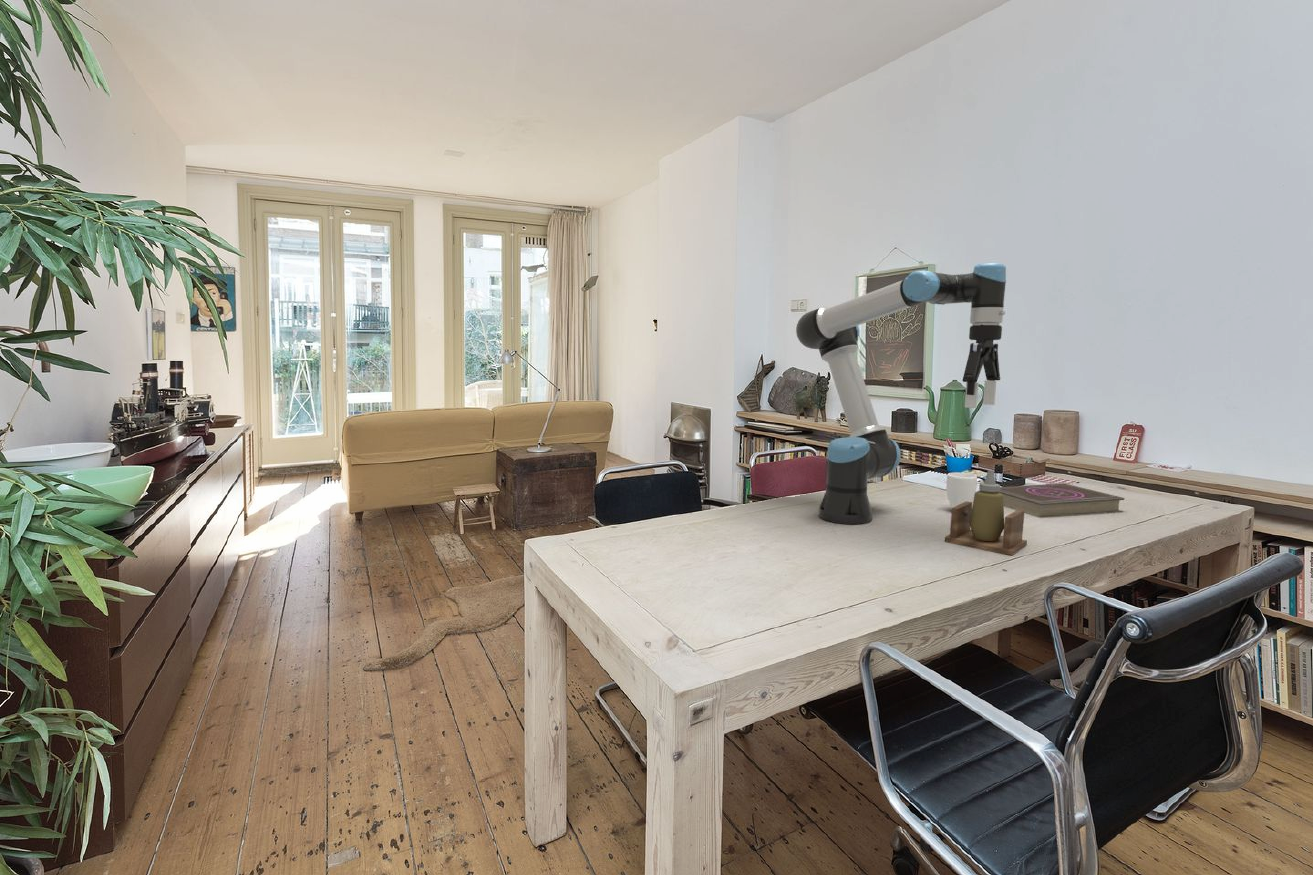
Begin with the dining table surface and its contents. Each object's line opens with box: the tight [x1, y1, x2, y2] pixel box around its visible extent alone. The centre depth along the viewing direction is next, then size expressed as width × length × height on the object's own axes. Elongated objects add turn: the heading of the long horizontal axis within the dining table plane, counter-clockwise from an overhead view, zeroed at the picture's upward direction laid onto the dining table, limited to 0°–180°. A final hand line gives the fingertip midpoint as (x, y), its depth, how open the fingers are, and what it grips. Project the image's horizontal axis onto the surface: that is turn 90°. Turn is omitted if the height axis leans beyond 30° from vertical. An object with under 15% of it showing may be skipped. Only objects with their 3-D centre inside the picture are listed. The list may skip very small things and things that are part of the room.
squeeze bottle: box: [969, 469, 1005, 541], centre depth 163 cm, size 8×8×18 cm
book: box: [999, 482, 1125, 519], centre depth 203 cm, size 30×22×5 cm
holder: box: [944, 501, 1028, 556], centre depth 164 cm, size 16×12×9 cm
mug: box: [946, 472, 985, 510], centre depth 196 cm, size 12×8×11 cm
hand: (979, 406), depth 169 cm, fingers open, 13 cm apart
